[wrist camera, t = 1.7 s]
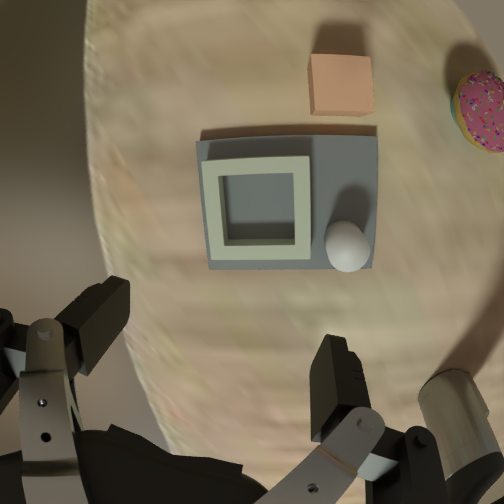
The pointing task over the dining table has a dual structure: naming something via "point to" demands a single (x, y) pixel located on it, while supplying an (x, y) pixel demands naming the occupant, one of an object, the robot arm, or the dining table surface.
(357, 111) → the block
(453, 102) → the cupcake
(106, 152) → the dining table surface
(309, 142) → the base board
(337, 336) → the robot arm
